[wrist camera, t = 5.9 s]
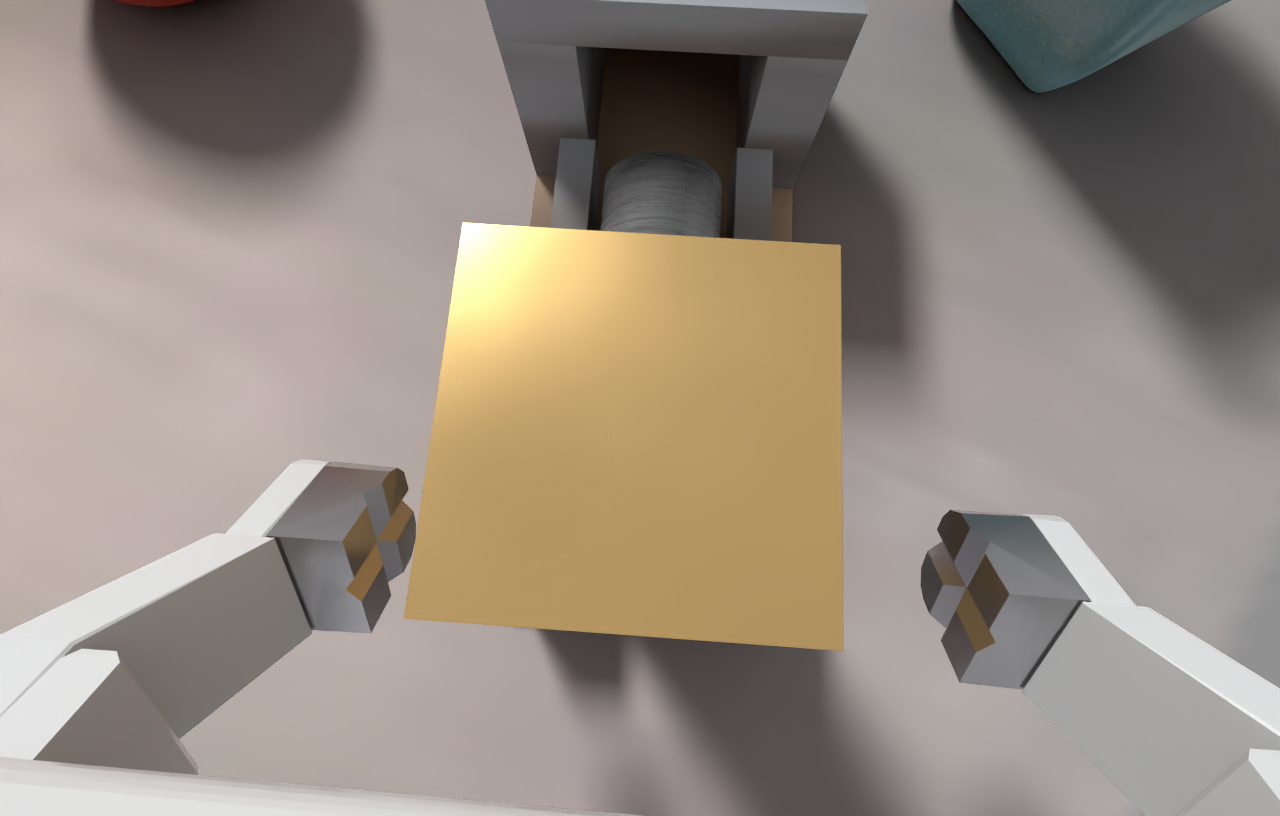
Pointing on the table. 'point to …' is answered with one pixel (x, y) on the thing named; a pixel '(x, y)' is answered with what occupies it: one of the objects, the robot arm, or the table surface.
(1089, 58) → the flower pot
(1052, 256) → the table surface
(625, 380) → the tall wooden block
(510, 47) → the rail base
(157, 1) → the fruit
